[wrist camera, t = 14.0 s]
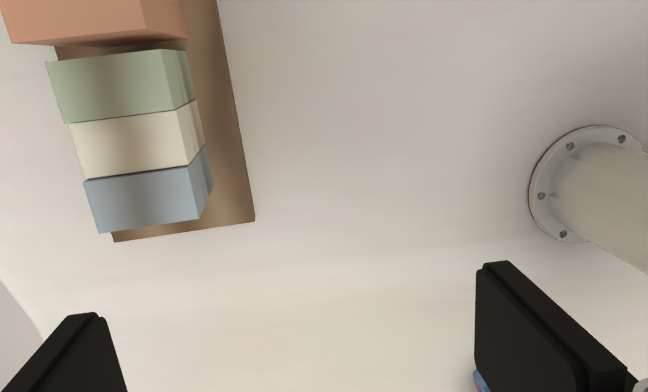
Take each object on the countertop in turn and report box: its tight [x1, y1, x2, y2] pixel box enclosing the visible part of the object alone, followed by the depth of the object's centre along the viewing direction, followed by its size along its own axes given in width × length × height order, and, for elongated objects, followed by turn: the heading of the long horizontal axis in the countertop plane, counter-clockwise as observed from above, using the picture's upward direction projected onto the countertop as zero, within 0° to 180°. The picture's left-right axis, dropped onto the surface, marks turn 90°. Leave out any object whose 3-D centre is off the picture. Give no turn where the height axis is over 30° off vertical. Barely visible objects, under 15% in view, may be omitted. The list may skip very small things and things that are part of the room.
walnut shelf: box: [45, 0, 255, 243], centre depth 32 cm, size 13×24×10 cm, turn 7°
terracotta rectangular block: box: [0, 0, 188, 48], centre depth 28 cm, size 7×4×12 cm, turn 96°
